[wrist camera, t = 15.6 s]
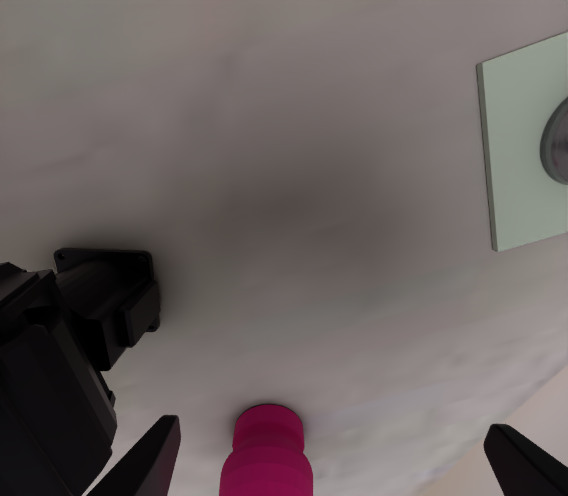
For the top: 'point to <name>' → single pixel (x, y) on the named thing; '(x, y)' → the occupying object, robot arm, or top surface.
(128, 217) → the top surface
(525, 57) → the rubber mat
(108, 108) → the top surface
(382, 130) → the top surface
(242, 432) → the pepper mill
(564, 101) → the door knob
